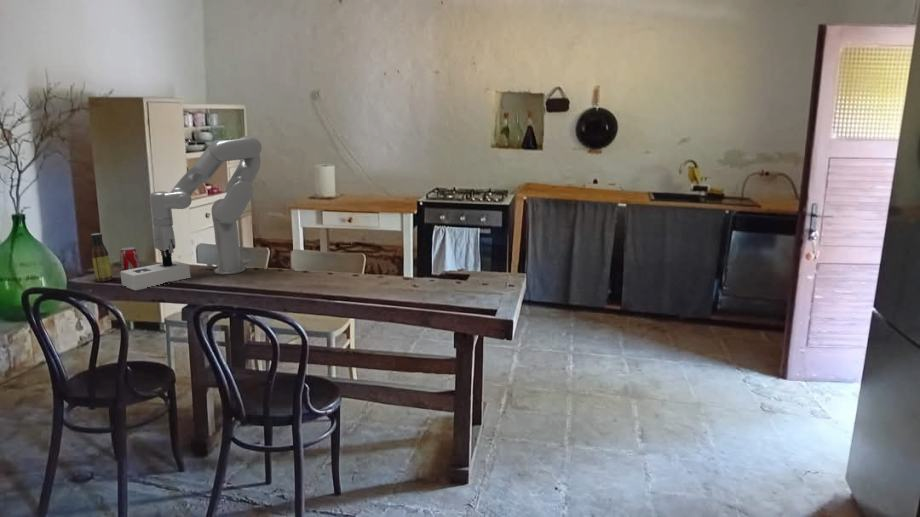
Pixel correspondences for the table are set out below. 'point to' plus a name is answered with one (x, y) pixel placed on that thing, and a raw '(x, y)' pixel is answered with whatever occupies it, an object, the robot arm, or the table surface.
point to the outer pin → (141, 270)
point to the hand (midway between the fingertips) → (167, 265)
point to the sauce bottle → (100, 259)
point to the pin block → (154, 275)
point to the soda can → (129, 258)
